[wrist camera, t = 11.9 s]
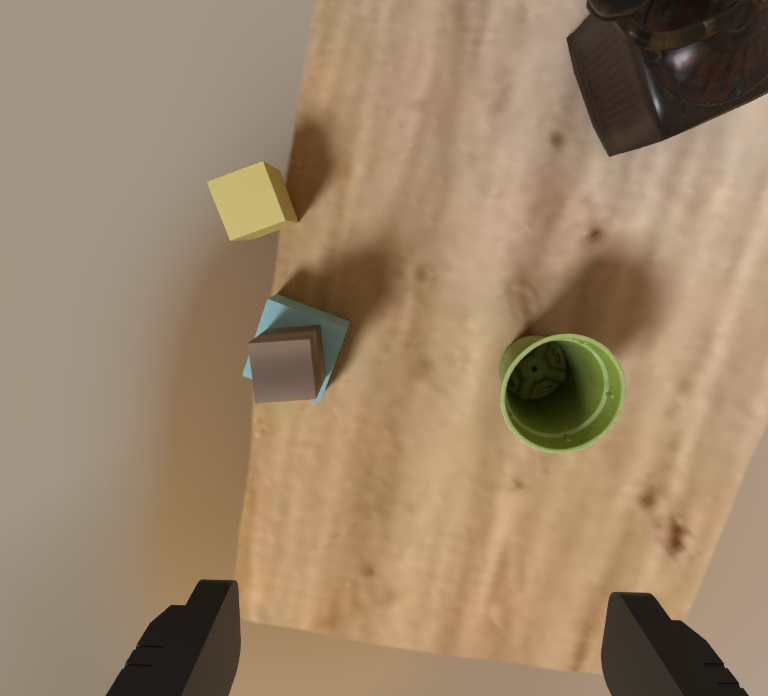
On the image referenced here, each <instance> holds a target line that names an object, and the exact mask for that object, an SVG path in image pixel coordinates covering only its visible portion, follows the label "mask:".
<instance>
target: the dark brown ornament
mask: <svg viewBox="0 0 768 696" xmlns="http://www.w3.org/2000/svg"><path fill="white" fill-rule="evenodd" d="M586 7H587V9H588V10H589V12H590V13H591V14H590V15H589V16H588V17H587V18H586V19H585V21H584V22H583V23H582V24H581V25H580V26H579V27H578V28H577V29H576V31H575V32H574V33H573V34H571V35H570V36H568V37H567V43H568V47H569V52H570V56H571V61H572V65H573V70H574V73H575V76H576V79H577V82H578V85H579V88H580V91H581V94H582V97H583V99H584V102H585V105H586V108H587V111H588V114H589V116H590V119H591V122H592V125H593V127H594V129H595V131H596V133H597V135H598V137H599V139H600V141H601V143H602V144H603V146H604V148H605V150H606V152H607V154H608V156H609V157H611V156H614V155H617V154H620V153H624V152H628V151H632V150H635V149H639V148H642V147H645V146H648V145H651V144H654V143H657V142H660V141H663V140H666V139H668V138H670V137H673V136H675V135H677V134H680V133H682V132H685V131H687V130H689V129H692V128H694V127H696V126H698V125H700V124H703V123H705V122H707V121H709V120H711V119H714V118H716V117H718V116H720V115H722V114H725V113H727V112H729V111H731V110H733V109H736V108H738V107H740V106H742V105H745V104H747V103H749V102H751V101H753V100H755V99H757V98H759V97H761V96H763V95H765V94H767V93H768V0H587V4H586Z"/></svg>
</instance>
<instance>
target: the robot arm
mask: <svg viewBox="0 0 768 696" xmlns="http://www.w3.org/2000/svg"><path fill="white" fill-rule="evenodd" d="M240 647H241V635H240V612H239V591H238V584H237V581H236V580H204V579H203V580H200V581H199V582H198V584H197V585H196V587H195V589H194V591H193V593H192V594H191V596H190V598H189V600H188V602H187V604H186V605H171V606H169V607H168V608H167V609H166V610H165V611H164V612H163V613H161V614H160V615H159V616H158V617H157V618H156V619H154V620H153V621H152V622H151V623H150V624H149V626H148V627H147V629H146V630H145V632H144V634H143V636H142V637H141V639H140V640H139V642H138V644H137V646H136V650H133V652H132V653H131V655H130V657H129V659H128V660H127V662H126V663H125V668H124V669H122V670H121V672H120V673H119V675H118V676H117V678H116V680H115V682H114V683H113V685H112V686H111V688H110V690H109V691H108V693H107V694H106V696H228V695H229V692H230V689H231V686H232V684H233V681H234V677H235V675H236V671H237V667H238V662H239V656H240ZM601 662H602V669H603V674H604V678H605V681H606V684H607V687H608V689H609V691H610V693H611V695H612V696H749V695H748V694H747V693H746V691H745V690H744V689H743V688H740V686H739V682H738V681H737V680H736V679H735V677H734V676H733V675H732V673H731V672H730V671H729V669H728V668H725V667H724V663H723V662H722V660H721V659H720V658H719V657H718V655H717V654H716V653H715V651H714V650H713V649H712V648H711V646H710V645H709V644H708V642H707V641H706V640H705V639H703V638H702V637H701V636H700V635H699V634H697V633H696V632H695V631H693V630H692V629H691V628H690V627H688V626H687V625H686V624H685V623H683V622H682V621H681V620H671V619H670V618H669V616H668V615H667V613H666V612H665V611H664V609H663V608H662V607H661V605H660V604H659V602H658V601H657V600H656V598H655V597H654V596H653V595H652V594H650V593H634V592H613V593H611V595H610V597H609V601H608V608H607V615H606V622H605V629H604V636H603V643H602V650H601Z"/></svg>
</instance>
